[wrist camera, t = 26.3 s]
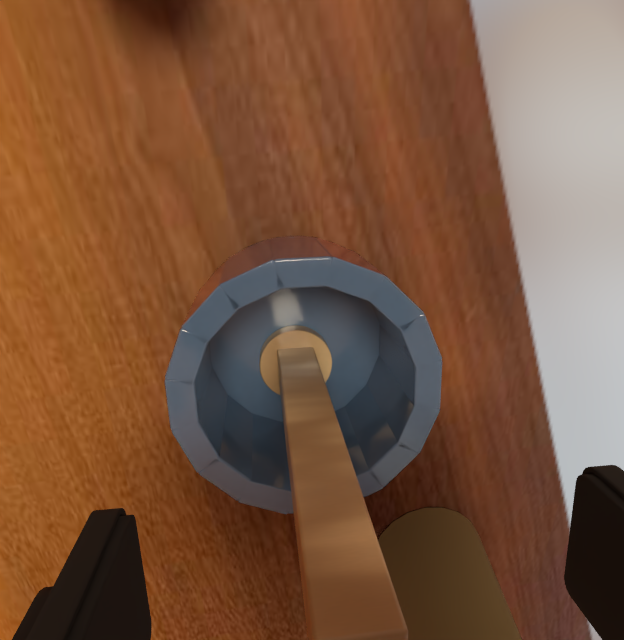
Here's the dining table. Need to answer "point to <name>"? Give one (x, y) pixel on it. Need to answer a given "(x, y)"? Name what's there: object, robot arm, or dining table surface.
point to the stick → (328, 500)
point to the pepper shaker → (445, 578)
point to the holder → (343, 383)
